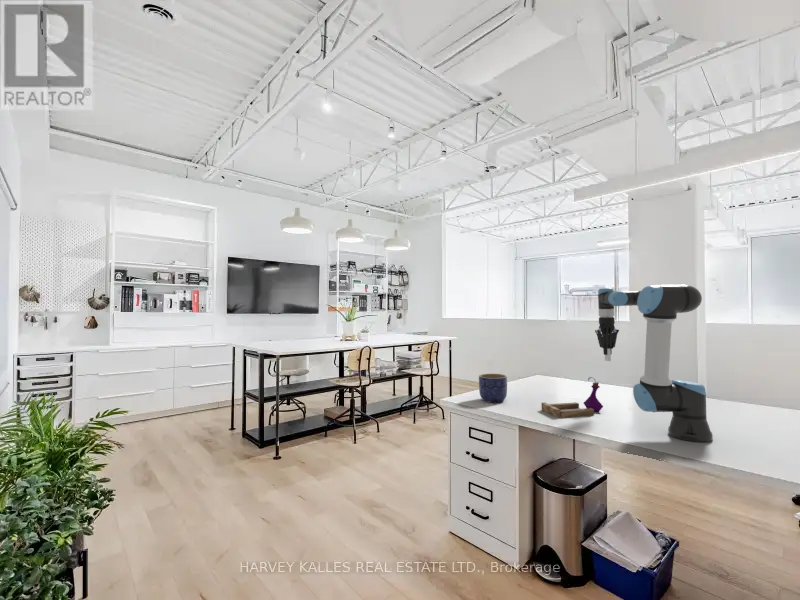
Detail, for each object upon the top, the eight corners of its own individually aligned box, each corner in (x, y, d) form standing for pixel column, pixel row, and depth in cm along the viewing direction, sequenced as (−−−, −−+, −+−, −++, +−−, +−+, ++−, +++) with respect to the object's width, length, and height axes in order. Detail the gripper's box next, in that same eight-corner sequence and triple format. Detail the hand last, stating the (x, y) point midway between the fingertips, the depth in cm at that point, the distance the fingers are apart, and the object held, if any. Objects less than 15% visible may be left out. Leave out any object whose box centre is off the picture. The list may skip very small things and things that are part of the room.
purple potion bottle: (597, 409, 211) (596, 375, 212) (603, 412, 204) (602, 378, 204) (583, 408, 212) (582, 375, 213) (588, 412, 205) (587, 378, 205)
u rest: (593, 415, 200) (593, 407, 200) (557, 417, 197) (556, 409, 197) (576, 407, 215) (575, 400, 215) (541, 410, 211) (541, 402, 211)
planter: (490, 396, 246) (490, 372, 247) (513, 400, 234) (512, 375, 234) (473, 400, 236) (472, 375, 236) (496, 405, 223) (495, 379, 223)
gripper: (612, 316, 215) (613, 359, 215) (591, 317, 213) (592, 360, 213) (622, 316, 208) (623, 361, 208) (600, 317, 206) (601, 362, 205)
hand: (607, 360), depth 210 cm, fingers closed
